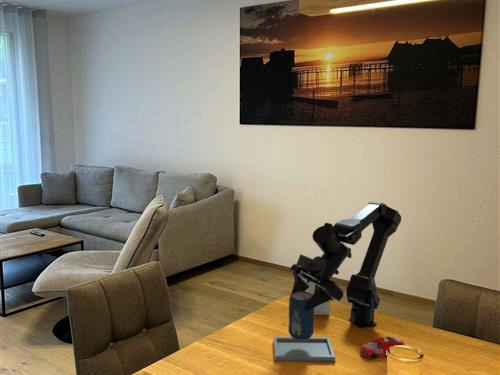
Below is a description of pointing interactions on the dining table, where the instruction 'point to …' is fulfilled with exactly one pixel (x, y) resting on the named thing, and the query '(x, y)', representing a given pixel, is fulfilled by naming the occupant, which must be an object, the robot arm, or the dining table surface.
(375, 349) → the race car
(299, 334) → the soda can
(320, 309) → the supplement box
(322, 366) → the dining table surface
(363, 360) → the dining table surface
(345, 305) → the dining table surface
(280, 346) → the tray
